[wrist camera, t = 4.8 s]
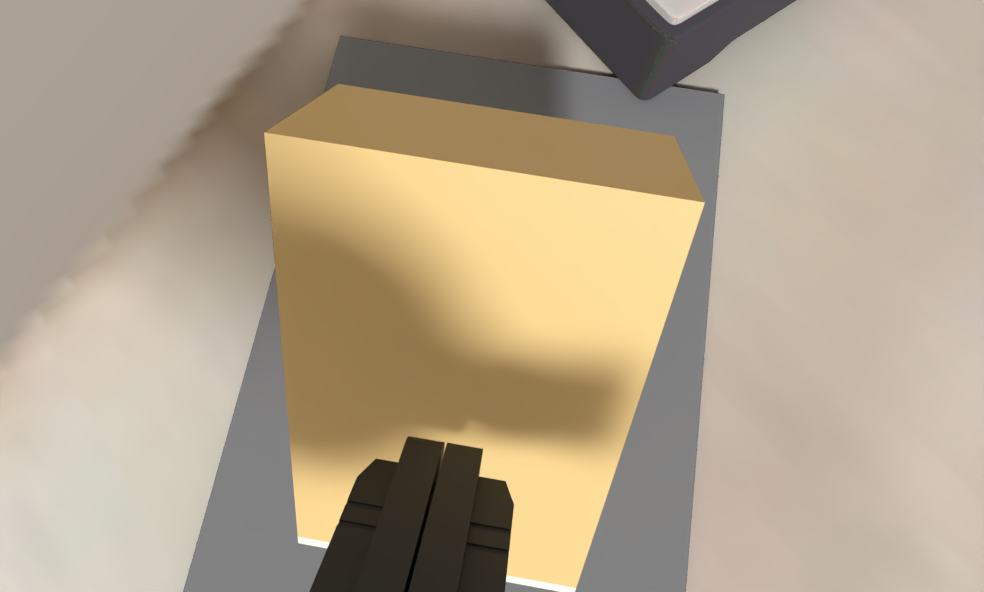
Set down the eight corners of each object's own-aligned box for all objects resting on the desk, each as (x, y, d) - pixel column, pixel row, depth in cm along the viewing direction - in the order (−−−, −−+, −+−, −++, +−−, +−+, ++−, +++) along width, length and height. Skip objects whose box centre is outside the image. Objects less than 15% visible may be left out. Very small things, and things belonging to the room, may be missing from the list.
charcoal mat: (720, 100, 25) (724, 94, 24) (667, 774, 18) (671, 781, 18) (342, 42, 25) (340, 35, 25) (164, 675, 19) (158, 680, 19)
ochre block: (574, 483, 20) (673, 136, 14) (574, 594, 17) (704, 202, 11) (343, 442, 21) (338, 83, 14) (298, 543, 17) (263, 132, 11)
